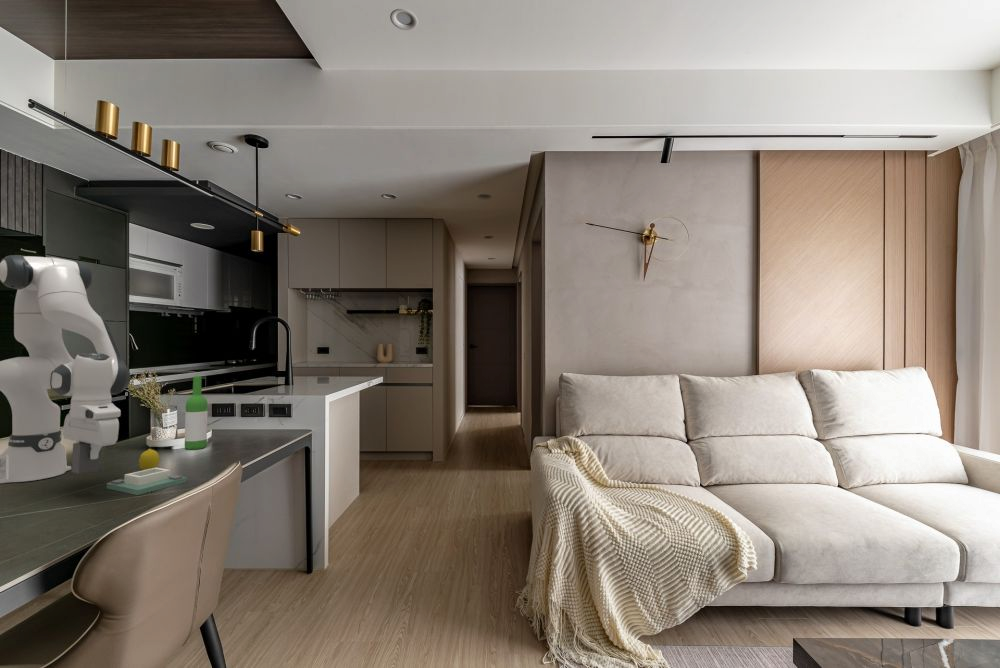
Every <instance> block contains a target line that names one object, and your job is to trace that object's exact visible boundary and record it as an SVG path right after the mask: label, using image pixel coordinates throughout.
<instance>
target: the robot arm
mask: <svg viewBox="0 0 1000 668" xmlns="http://www.w3.org/2000/svg"><path fill="white" fill-rule="evenodd" d="M93 277H94V275H93V270H92V268H91V267H90V265H88V264H87V263H85V262H81V261H79V260H70V259H64V258H59V257H51V256H48V257H46V256H45V257H44V256H33V255H32V256H31V255H30V256H29V255H27V256H26V255H22V254H20V255H19V254H15V255H14V254H13V255H12V254H10V255H7V256H5V257H3V258H1V260H0V282H1V283H2V284H3V285H4V286H5V287H7V288H10V289H15V290H17V291H16V294H15V299H14V306H13V307H14V308H13V317H14V318H13V324H14V325H13V336H14V338H15V340H16V341H17V342H18V343H20V344H22V345H23V346H24V347H25V348H26V351H27V352H28V355H29V356H16V357H12V358H8V359H4V360H0V392H1V393H3V395H4V396H5V398H6V399H7V401H8V403H9V405H10V408H11V415H12V417H11V418H12V421H11V422H12V433H11V434H10V435H9V438H8V444H7V445H8V447H7V448H5V450H4V451H3V452H2V453H1V454H0V484H6V483H8V484H9V483H21V482H31V481H37V480H38V481H39V480H43V479H44V480H45V479H48V478H53V477H57V476H60V475H63V474H65V473H66V472H67V471H70V470H71V471H72V465H67V464H68V463H67V450H66V446H65V445H64V444H62V443H61V442H62V437H63V438H64V439H66V440H71V441H75V443H80V442H84V443H89V444H91V446H90V447H91V451H90V453H88V458H89V459H97V458H98V455H99V451H100V449H101V448H102V447H106V446H112V445H115V444H116V443H117V441H118V439H119V431H120V430H119V429H120V422H119V417H121V415H122V413H121V412H122V411H121V409H120V408H119V407H117V406H116V405H115V404H114V403H113V402H112V397H113V396H112V395H115V396H116V395H118V394H120V393H122V392H123V391H125V390H126V389H127V387H128V386H129V385H130V383H131V380H132V379H131V378H132V377H131V373H130V370H129V368H128V366H127V364H125V362H124V360H123V359H122V356H121V354H120V350H119V349H118V347H117V343H116V341H115V339H114V336H113V334H112V331H111V329H110V327H109V325H108V323H107V321H106V319H105V318H104V317H102V316H101V315H99V314H98V312H96V311H95V310H94V309H93V308H92V306H91V304H90V302H89V300H88V294H87V290H88V289H90V288H91V287H92V284H93V279H94V278H93ZM62 330H67V331H69V332H72V333H73V332H74V333H76V334H78V335H80V336H82V337H85V338H87V339H89V340H90V341H91V343H92V344H93V346H94V349H95V351H96V352H82V353H79V354H77V355H76V356H75V357H74V358H73V357H72V356H71V355H70V353H69V351H68V350H67V347H66V345H65V343H64V339H63V334H62V333H63V331H62ZM50 389H51V391H54V392H55V393H56V394H58V395H59V396H63V397H64V396H65V397H66V396H67V397H71V399H70V410H69V412H68V413H67V414H66V416H65V419H64V422H63V431H62V430H60V429H61V428H60V427H61V407H60V406H59V405H58V403H55V402H53V401H52V400H51V398H50V396H49V394H48V390H50Z"/></svg>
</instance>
